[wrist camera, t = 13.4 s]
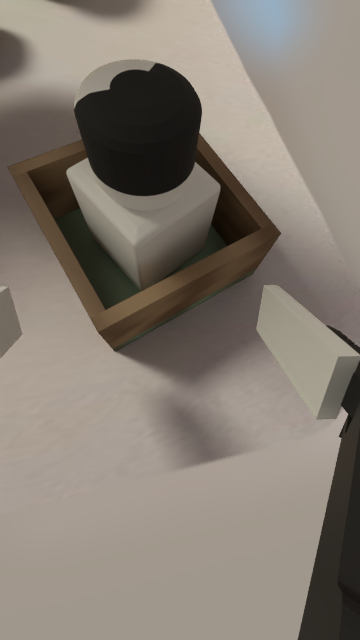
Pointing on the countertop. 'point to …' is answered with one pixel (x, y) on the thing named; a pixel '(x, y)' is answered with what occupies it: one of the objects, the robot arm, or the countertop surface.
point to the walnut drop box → (104, 274)
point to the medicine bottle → (142, 168)
